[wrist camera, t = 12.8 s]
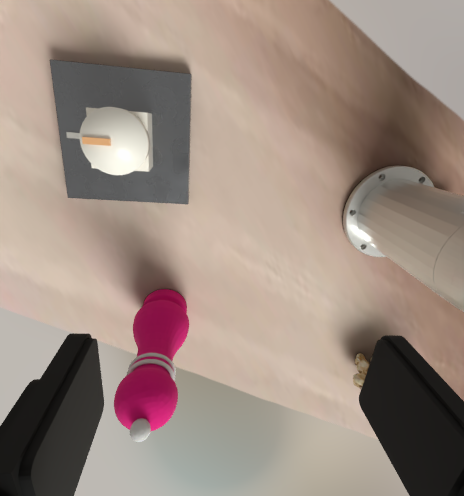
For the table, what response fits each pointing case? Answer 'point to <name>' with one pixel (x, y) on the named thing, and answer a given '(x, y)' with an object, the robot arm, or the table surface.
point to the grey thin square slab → (131, 99)
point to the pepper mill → (153, 365)
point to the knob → (117, 140)
